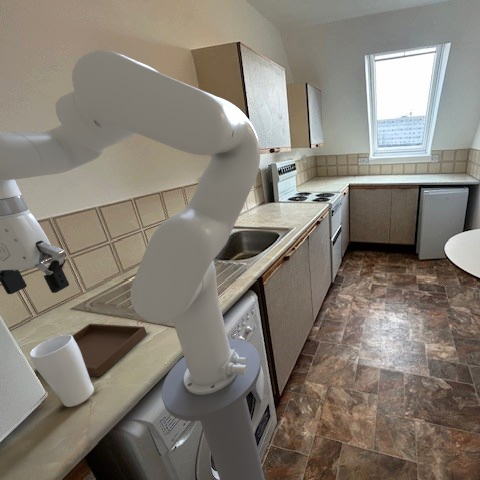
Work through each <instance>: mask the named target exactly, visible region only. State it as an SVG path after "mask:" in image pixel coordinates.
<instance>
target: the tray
mask: <svg viewBox="0 0 480 480" xmlns="http://www.w3.org/2000/svg"><path fill="white" fill-rule="evenodd" d="M71 335H72V336H73V338H74V340H75V341H76V343H77V345H78V347H79V349H80V351H81V354H82V357H83V360H84V363H85V366H86V369H87V372H88V375H89V377H96V378H97V377H98V378H101V377H102V376H103V375H104V374H106V373H107V372H108V371H109V369H111V368H112V367H114V365H115V364H117V362H119V361H120V360H121V359H122V358H123V357H124V356H125V355H126V354H127V353H129V352H130V351H131V350H132V349H133V348H134V347H135V346H136V345H138V343H139V342H141V340H143V339H144V338H145V337H146V336H147V335H148V333H147V330H146V328H145V326H139V325H121V324H106V323H105V324H103V323H88V324H87V325H85V326H84V327H82V328H81V329H80V330H78V331H77V332H75V333H74V334H71ZM36 371H37V372H38V370H37V369H36Z"/></svg>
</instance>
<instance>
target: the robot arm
mask: <svg viewBox="0 0 480 480" xmlns="http://www.w3.org/2000/svg"><path fill="white" fill-rule="evenodd" d="M71 74H72V76H71V81H72V88H73V90H72V91H71V92H69V93H66V94H63V95H62V96H60V97H59V98H58V99H57V101H56V102H55V113H56V116H57V119H58V121H59V122H60V125H59V126H58V125H57V126H55V127H54V128H52V129H49V130H46V131H42V132H36V131H35V132H34V131H33V132H32V131H0V284H1V286H2V288H3V289H4V291H5V293H6V294H7V295H13V294H15V293H18V292H20V291H21V290H24V289H26V288H27V286H28V285H27V282H26V280H25V279H24V278H23V275H22V273H21V272H20V271H23V270H30V269H33V268H37V269H38V270H40V271H41V272H43V273H44V274H45V275H43V279H44V280H45V282H46V285H47V286H48V288H49V290H50V293H52V294H57V293H58V292H60V291H62V290H64V289H66V288H68V287H69V286H70V282H69V280H68V278H67V276H66V274H65V272H64V270H63V269H65V263H66V259H65V258H66V251H65V250H64V249H62V248H60V247H57V246H55V245H52V244H51V242H50V240H49V238H48V236H47V234H46V233H45V231H44V229H43V228H42V226H41V225H40V224H39V221H38V220H37V219H36V218H35V215H33V213H32V212H31V210H30V209H29V207H28V205H27V202H26V201H25V198H24V196H23V194H22V192H21V190H20V188H19V185H18V183H17V181H16V180H21V179H30V178H35V177H44V176H49V175H58V174H62V173H66V172H70V171H72V170H74V169H76V168H80V167H81V166H84V165H86V164H88V163H90V162H92V161H95V160H97V159H99V158H100V157H101V156H102V155H103V154H104V153H105V152H106V150H107V149H108V148H110V147H112V146H114V145H116V144H119V143H122V142H123V141H125V140H128V139H130V138H133V137H135V136H138V135H139V136H143V137H145V138H147V139H150V140H152V141H155V142H157V143H159V144H163V145H164V146H167V147H170V148H172V149H175V150H177V151H181V152H184V153H186V154H191V155H195V156H210V155H211V157H210V160H209V162H208V164H207V166H206V168H205V170H204V171H202V174H201V176H200V178H199V180H198V182H197V186H196V188H195V191H194V193H193V195H192V196H191V198H190V201H189V202H188V204H187V206H186V207H185V208H184V209H182V210H181V211H179V212H177V213H176V214H174V215H171V216H170V217H169V218H167V219H166V220H164V221H163V222H162V223H160V225H159V226H157V228H156V229H155V231H154V232H153V234H152V235H151V237H150V239H149V241H148V243H147V245H146V248H145V250H144V253H143V255H142V258H141V260H140V263H139V266H138V269H137V271H136V273H135V276H134V278H133V280H132V283H131V288H130V294H129V295H130V303H131V306H132V308H133V310H134V311H135V313H136V314H137V315H138V316H139V317H140V318H141V319H143V320H145V321H147V322H150V323H153V324H165V323H170V322H172V323H173V326H174V330H175V334H176V335H177V339H178V341H179V345H180V349H181V352H182V353H183V354H182V355H183V357H184V358H185V361H186V364H187V367H188V368H187V370H186V372H185V374H184V384H185V387H186V389H187V390H188V391H189V392H191V393H193V394H197V395H205V394H210V393H214V392H216V391H218V390H221V389H222V388H224V387H225V386H227V385H228V384H229V383H230V382H231V381H232V380H233V379H234V378H235V377H236V375H237V374H242V375H245V374H246V373H247V369H248V368H247V365H240V364H246V361H247V359H246V358H242V357H241V358H239V356H238V354H237V353H236V352H235V350H234V349H230V345H229V341H228V339H229V337H228V333H227V329H226V325H225V321H224V317H223V313H222V307H221V304H220V303H221V302H220V299H219V293H218V292H219V291H218V285H217V284H218V283H217V272H216V266H215V263H214V260H215V259H216V257H217V256H218V255H219V254H220V253H221V251H222V250H223V249H224V248H225V246H226V245H227V243H228V241H229V239H230V237H231V234H232V232H233V229H234V227H235V225H236V223H237V221H238V219H239V216H240V215H241V212H242V210H243V208H244V206H245V203H246V201H247V199H248V196H249V195H250V193H251V191H252V188H253V186H254V184H255V183H256V179H257V176H258V173H259V169H260V163H261V147H260V142H259V138H258V135H257V133H256V130H255V128H254V126H253V125H252V123H251V121H250V119H249V118H248V117H247V116H246V115H245V113H244V112H243V111H242V110H241V109H240V108H239V107H237V106H236V105H235V104H233V103H232V102H230V101H228V100H226V99H224V98H222V97H219V96H216V95H214V94H212V93H209V92H207V91H204V90H202V89H199V88H197V87H195V86H192V85H190V84H188V83H185V82H183V81H180V80H178V79H175V78H172V77H170V76H168V75H166V74H164V73H161V72H160V71H158V70H156V69H155V68H153V67H151V66H149V65H147V64H145V63H142V62H140V61H138V60H136V59H134V58H130V57H128V56H126V55H124V54H121V53H119V52H117V51H113V50H107V49H97V50H93V51H89V52H87V53H85V54H83V55H82V56H81V57H80V58H78V60H77V61H76V63H74V66H73V69H72V73H71ZM46 264H49V265H46Z"/></svg>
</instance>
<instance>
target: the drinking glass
mask: <svg viewBox="0 0 480 480" xmlns="http://www.w3.org/2000/svg"><path fill="white" fill-rule="evenodd" d="M72 335H73V334H60V335H56V336H53V337H50V338H48V339H46V340H43V341H41V342H40V343H39V344H37V345H36V346H35V347H33V348H32V349H31V350H30V352H29V357H30V360H31V361H32V364H33V366H34V367H35V370H36V371H37V370H38V371H37V372H38V373H39V375H40V376H41V377H42V379H43V380H44V381H45V382H46V383H47V384H48V386H49V387H50V388H51V390H52V391H53V392H54V393H55V395H56V396H57V397H58V399H60V401H61V403H62V405H63V406H64V407H67V408H72V407H76V406H79V405H81V404H83V403H84V402H86V401H87V400H88V399H90V397H91V396H92V395H93V393H94V391H95V387H94V384H93V383H92V380H91V376H89V375H88V372H87V369H86V366H85V363H84V360H83V357H82V354H81V351H80V349H79V347H78V345H77V343H76V341H75V340H74V338H73V336H72Z"/></svg>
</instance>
